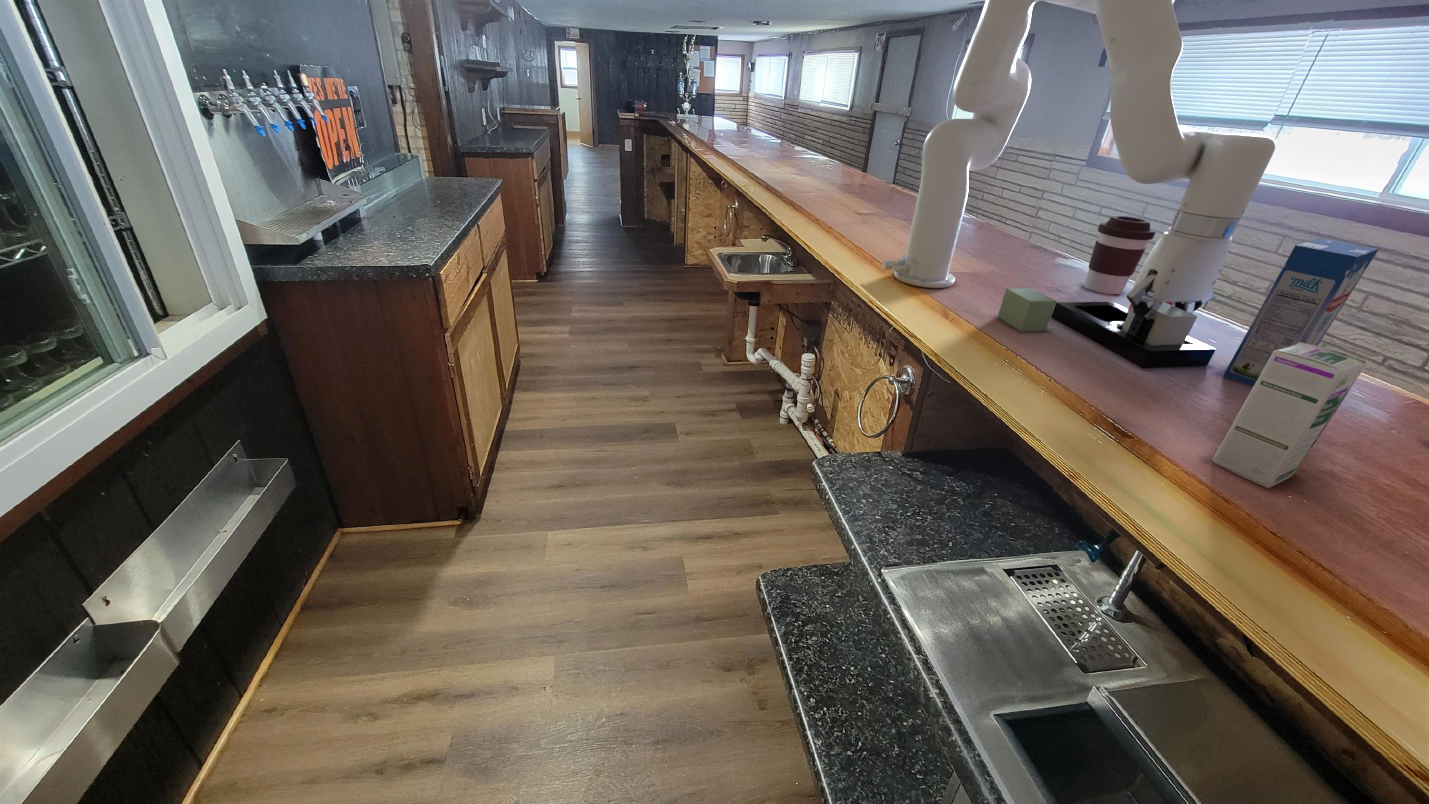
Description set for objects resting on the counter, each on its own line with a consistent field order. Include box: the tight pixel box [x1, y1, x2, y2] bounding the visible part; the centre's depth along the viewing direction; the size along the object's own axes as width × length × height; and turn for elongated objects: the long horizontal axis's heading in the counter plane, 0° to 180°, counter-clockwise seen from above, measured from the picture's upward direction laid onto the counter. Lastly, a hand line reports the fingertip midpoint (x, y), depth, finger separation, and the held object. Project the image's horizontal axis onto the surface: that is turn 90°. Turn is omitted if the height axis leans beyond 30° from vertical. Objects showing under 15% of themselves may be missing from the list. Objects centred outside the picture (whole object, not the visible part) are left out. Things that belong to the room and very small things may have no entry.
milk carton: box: [1222, 238, 1380, 387], centre depth 82 cm, size 10×6×20 cm, turn 122°
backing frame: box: [1050, 301, 1217, 369], centre depth 97 cm, size 12×22×3 cm, turn 9°
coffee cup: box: [1083, 215, 1157, 295], centre depth 119 cm, size 10×10×15 cm
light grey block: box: [1122, 301, 1198, 346], centre depth 91 cm, size 5×7×6 cm
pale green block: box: [997, 287, 1057, 332], centre depth 101 cm, size 5×7×6 cm
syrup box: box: [1212, 342, 1367, 489], centre depth 61 cm, size 6×6×14 cm
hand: (1150, 337), depth 92 cm, fingers closed on light grey block, 5 cm apart
